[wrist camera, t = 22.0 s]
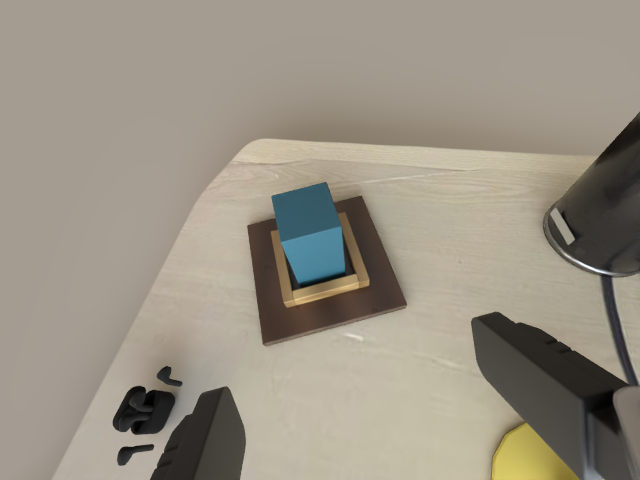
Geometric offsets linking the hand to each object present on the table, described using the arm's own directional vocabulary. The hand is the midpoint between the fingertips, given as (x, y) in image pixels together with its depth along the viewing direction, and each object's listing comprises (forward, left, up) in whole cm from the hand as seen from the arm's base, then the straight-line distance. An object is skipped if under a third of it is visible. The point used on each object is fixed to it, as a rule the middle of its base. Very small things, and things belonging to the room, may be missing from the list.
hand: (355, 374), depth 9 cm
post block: (0, -14, -17) cm, 22 cm away
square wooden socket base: (0, -14, -18) cm, 23 cm away
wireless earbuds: (+17, -4, -19) cm, 25 cm away
